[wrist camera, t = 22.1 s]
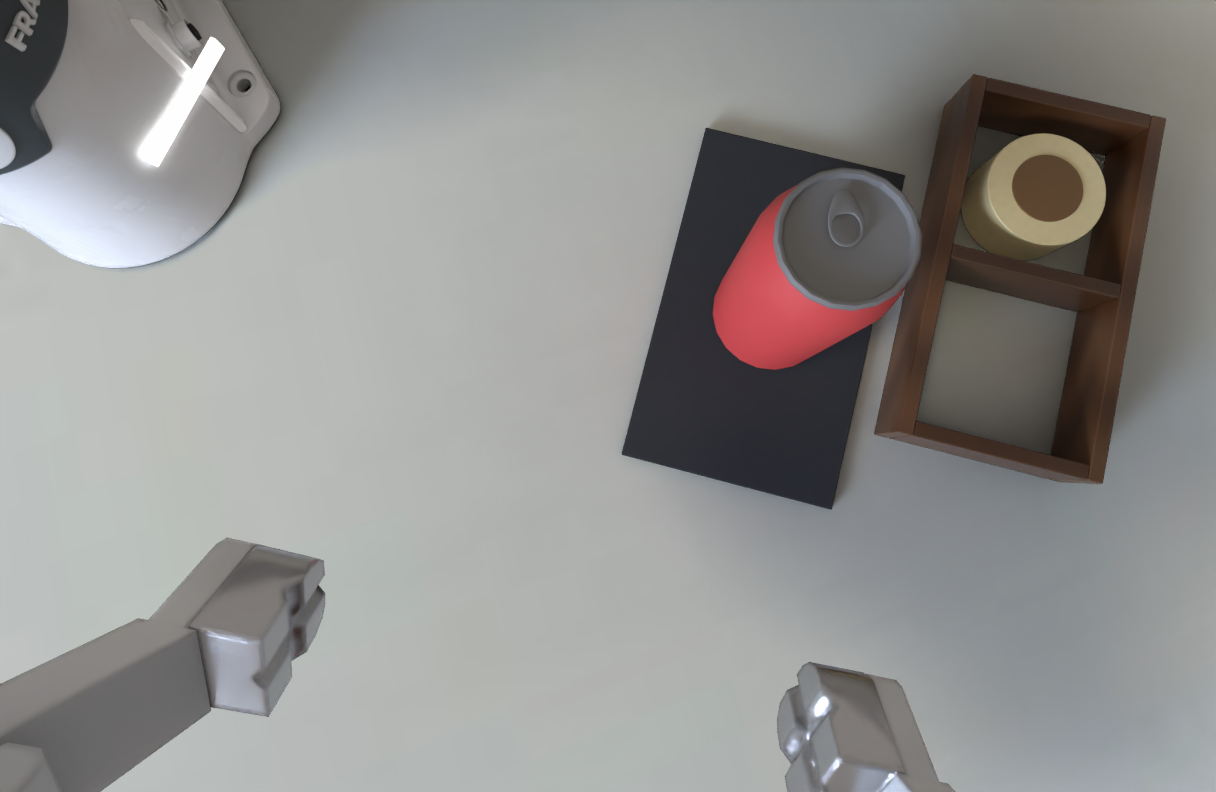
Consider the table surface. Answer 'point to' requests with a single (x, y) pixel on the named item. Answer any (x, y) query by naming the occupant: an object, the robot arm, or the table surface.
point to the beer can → (817, 268)
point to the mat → (714, 377)
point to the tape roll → (1033, 197)
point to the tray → (1032, 274)
